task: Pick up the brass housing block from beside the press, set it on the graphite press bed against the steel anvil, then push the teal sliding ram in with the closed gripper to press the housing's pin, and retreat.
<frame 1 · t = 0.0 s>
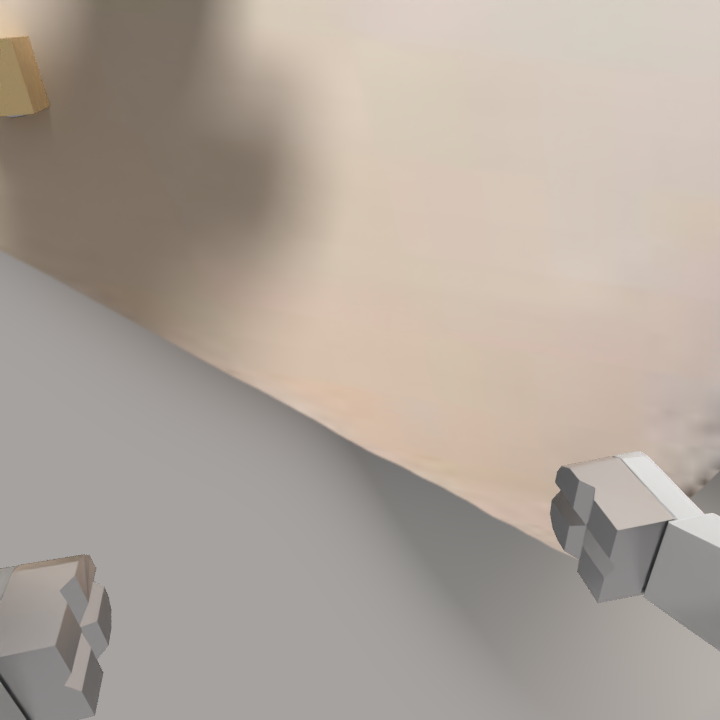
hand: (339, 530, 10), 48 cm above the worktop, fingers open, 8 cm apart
housing: (13, 73, 45), on the worktop
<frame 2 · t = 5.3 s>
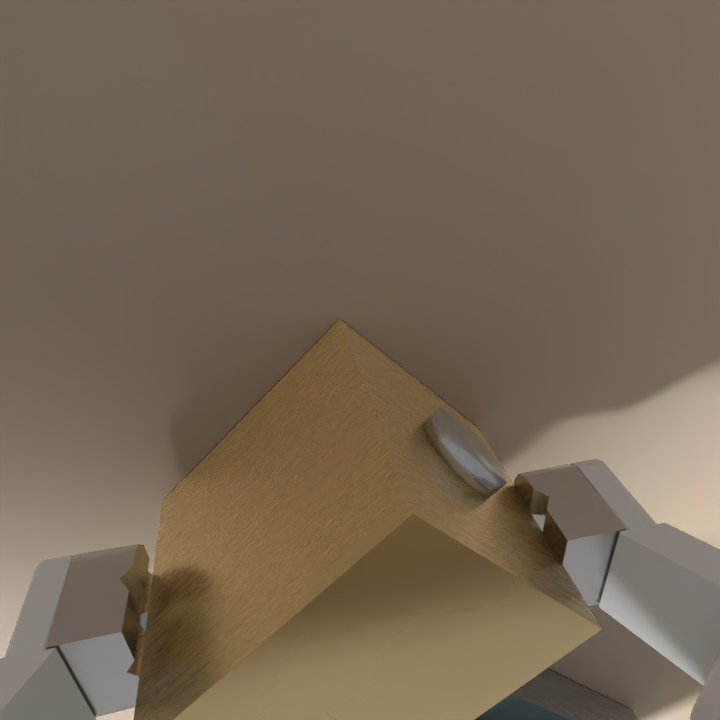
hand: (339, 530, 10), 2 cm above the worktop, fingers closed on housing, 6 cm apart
housing: (326, 464, 11), on the worktop, touching gripper
when the fingers open (4 cm above the worktop, at t = 11.7 s): housing stays where it is, resting on press bed.
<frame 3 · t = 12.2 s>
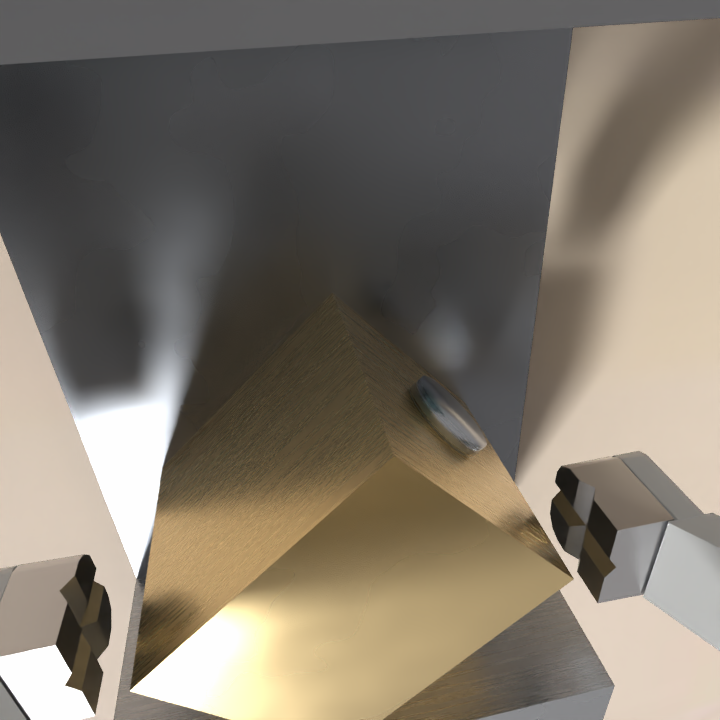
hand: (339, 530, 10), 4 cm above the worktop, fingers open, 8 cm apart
housing: (318, 434, 12), point 1 cm above the worktop, touching press bed
press bed: (299, 283, 12), on the worktop
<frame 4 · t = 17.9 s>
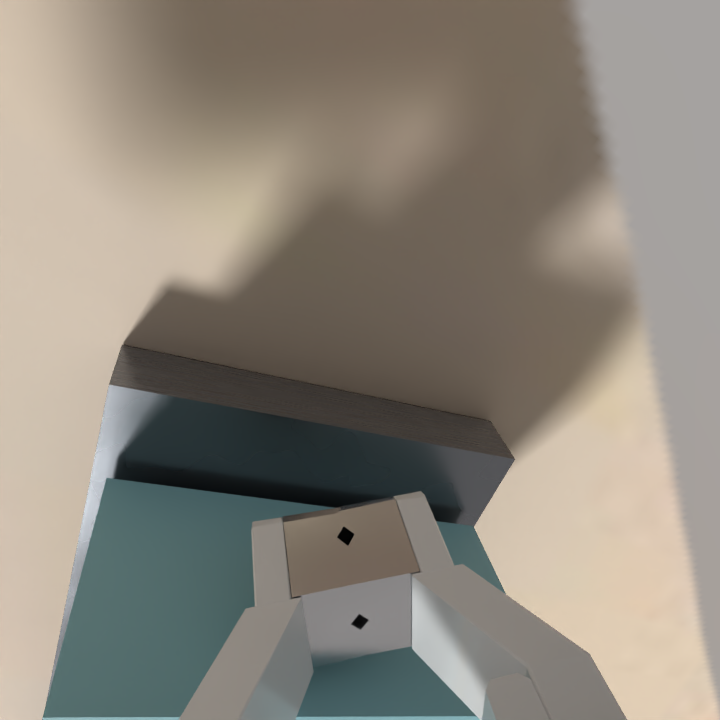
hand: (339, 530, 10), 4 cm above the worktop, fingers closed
ram: (300, 642, 11), point 4 cm above the worktop, slide at 0.5 cm, touching gripper
press bed: (229, 632, 17), on the worktop
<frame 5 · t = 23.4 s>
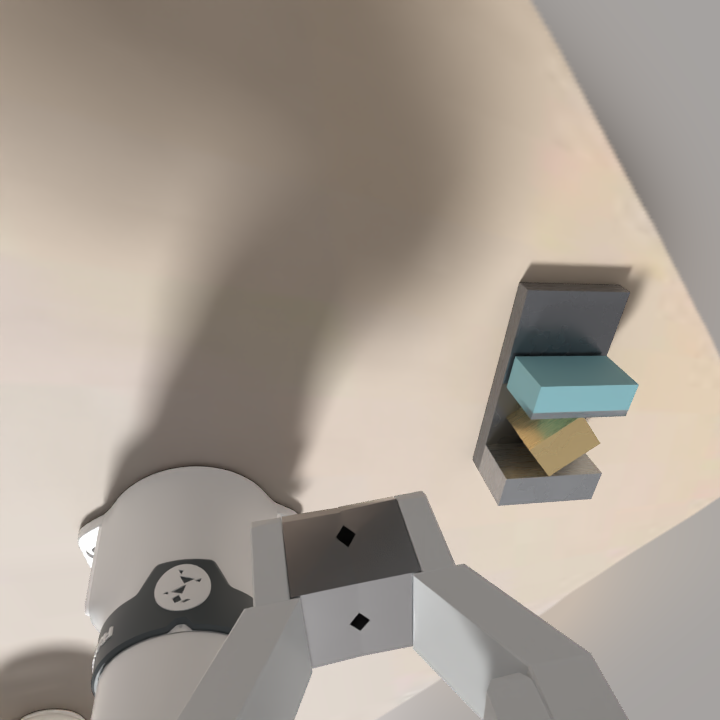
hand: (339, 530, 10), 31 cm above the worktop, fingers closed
ram: (570, 386, 46), point 4 cm above the worktop, slide at 4.2 cm, touching housing
housing: (539, 414, 50), point 1 cm above the worktop, touching press bed, ram
press bed: (540, 378, 50), on the worktop
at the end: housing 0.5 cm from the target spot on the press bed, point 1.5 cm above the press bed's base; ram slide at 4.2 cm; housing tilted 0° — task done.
